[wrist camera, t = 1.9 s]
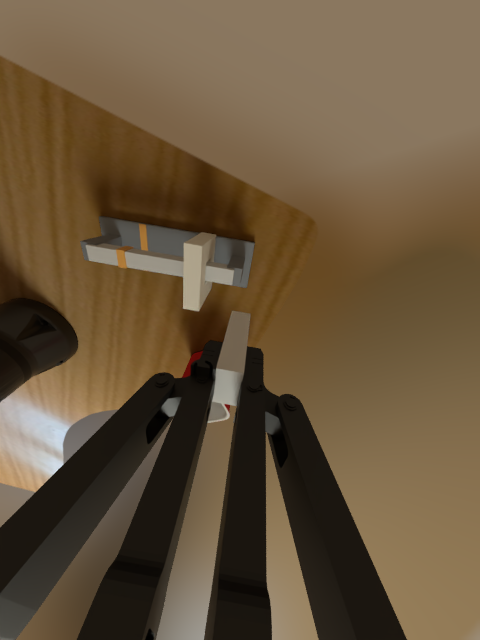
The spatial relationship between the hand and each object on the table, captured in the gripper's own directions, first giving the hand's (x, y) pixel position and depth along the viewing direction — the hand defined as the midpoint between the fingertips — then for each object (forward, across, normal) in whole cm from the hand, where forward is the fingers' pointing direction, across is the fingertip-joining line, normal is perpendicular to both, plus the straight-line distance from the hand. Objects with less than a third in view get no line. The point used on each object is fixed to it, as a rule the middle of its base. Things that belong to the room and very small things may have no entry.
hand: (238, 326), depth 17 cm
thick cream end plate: (+16, -6, 0) cm, 17 cm away
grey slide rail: (+18, -12, 0) cm, 22 cm away
